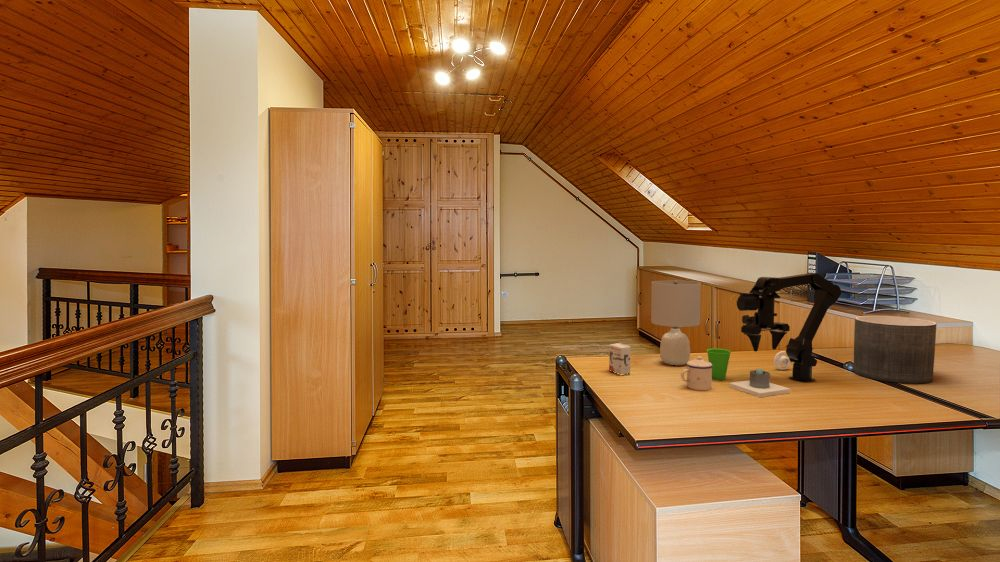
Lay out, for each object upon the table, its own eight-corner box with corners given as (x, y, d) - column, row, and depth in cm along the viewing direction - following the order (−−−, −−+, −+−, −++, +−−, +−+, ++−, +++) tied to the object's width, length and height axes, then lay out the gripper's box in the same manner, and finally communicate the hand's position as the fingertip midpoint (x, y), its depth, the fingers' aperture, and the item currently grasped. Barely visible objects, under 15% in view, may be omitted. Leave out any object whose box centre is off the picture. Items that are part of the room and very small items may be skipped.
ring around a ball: (776, 371, 212) (777, 352, 212) (767, 368, 218) (768, 349, 217) (794, 370, 214) (794, 351, 213) (784, 367, 219) (785, 348, 219)
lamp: (654, 368, 219) (654, 282, 217) (648, 358, 239) (649, 279, 237) (704, 370, 216) (705, 282, 213) (694, 359, 236) (695, 279, 233)
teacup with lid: (702, 383, 197) (702, 353, 196) (717, 389, 188) (718, 358, 187) (674, 385, 194) (674, 355, 193) (688, 392, 185) (689, 360, 184)
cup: (733, 381, 198) (733, 353, 197) (708, 380, 200) (708, 353, 199) (727, 375, 207) (728, 348, 206) (703, 374, 209) (704, 348, 208)
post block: (758, 382, 196) (758, 363, 195) (790, 392, 183) (790, 372, 182) (729, 386, 191) (729, 367, 191) (759, 397, 178) (760, 376, 178)
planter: (943, 377, 201) (946, 321, 199) (919, 388, 186) (922, 328, 184) (867, 364, 221) (870, 313, 220) (841, 374, 207) (843, 319, 205)
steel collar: (759, 382, 191) (759, 369, 191) (773, 387, 185) (773, 373, 185) (745, 384, 189) (745, 371, 189) (759, 389, 183) (760, 375, 183)
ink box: (608, 371, 216) (608, 343, 215) (617, 370, 218) (617, 342, 218) (621, 376, 209) (621, 347, 208) (631, 374, 211) (631, 346, 210)
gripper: (767, 306, 207) (766, 344, 208) (730, 309, 201) (729, 348, 202) (791, 309, 196) (790, 350, 198) (753, 312, 190) (752, 354, 191)
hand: (764, 350), depth 197 cm, fingers open, 9 cm apart
